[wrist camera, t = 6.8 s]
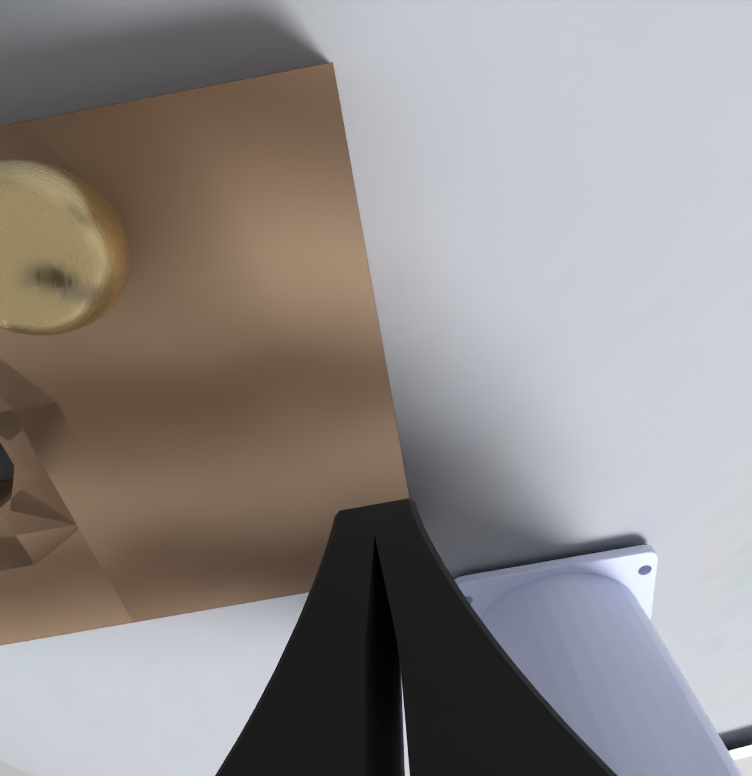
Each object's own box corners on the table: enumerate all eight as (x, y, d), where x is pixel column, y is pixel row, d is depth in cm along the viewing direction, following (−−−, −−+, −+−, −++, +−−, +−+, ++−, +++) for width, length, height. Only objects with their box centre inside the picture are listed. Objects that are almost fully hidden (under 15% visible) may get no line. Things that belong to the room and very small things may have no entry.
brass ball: (171, 288, 13) (124, 346, 10) (34, 314, 13) (-51, 379, 10) (116, 137, 12) (42, 154, 9) (-39, 166, 12) (-165, 192, 9)
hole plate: (415, 530, 20) (422, 572, 19) (-58, 613, 21) (-95, 661, 19) (332, 65, 13) (332, 62, 11) (-393, 204, 13) (-503, 222, 12)
